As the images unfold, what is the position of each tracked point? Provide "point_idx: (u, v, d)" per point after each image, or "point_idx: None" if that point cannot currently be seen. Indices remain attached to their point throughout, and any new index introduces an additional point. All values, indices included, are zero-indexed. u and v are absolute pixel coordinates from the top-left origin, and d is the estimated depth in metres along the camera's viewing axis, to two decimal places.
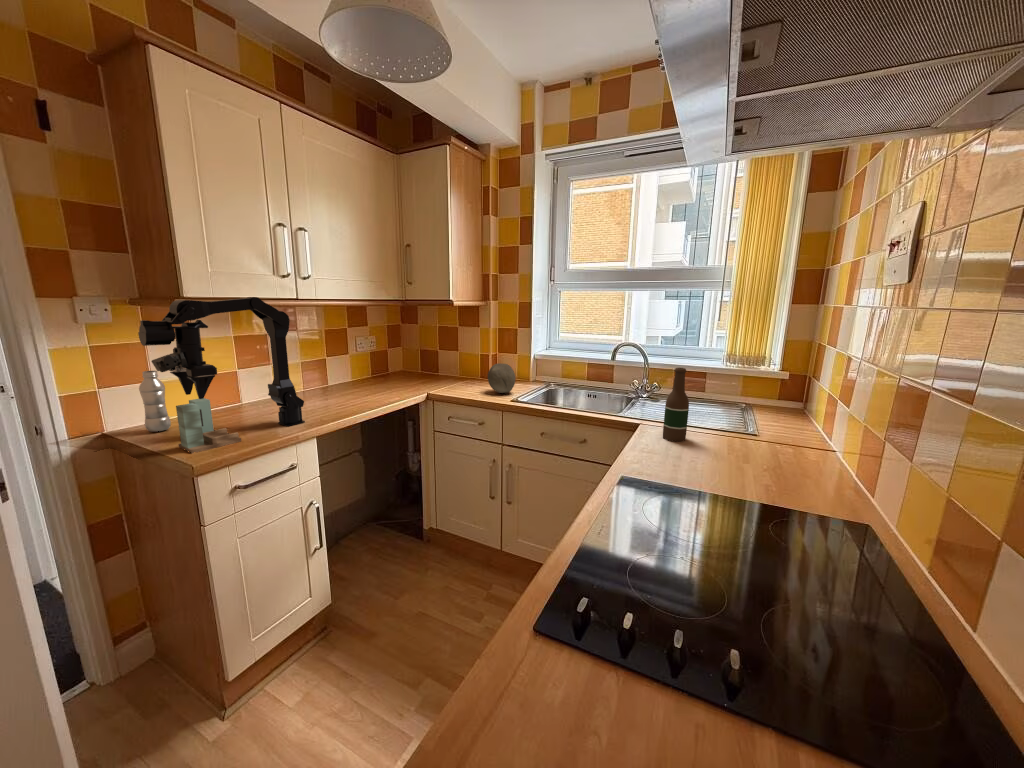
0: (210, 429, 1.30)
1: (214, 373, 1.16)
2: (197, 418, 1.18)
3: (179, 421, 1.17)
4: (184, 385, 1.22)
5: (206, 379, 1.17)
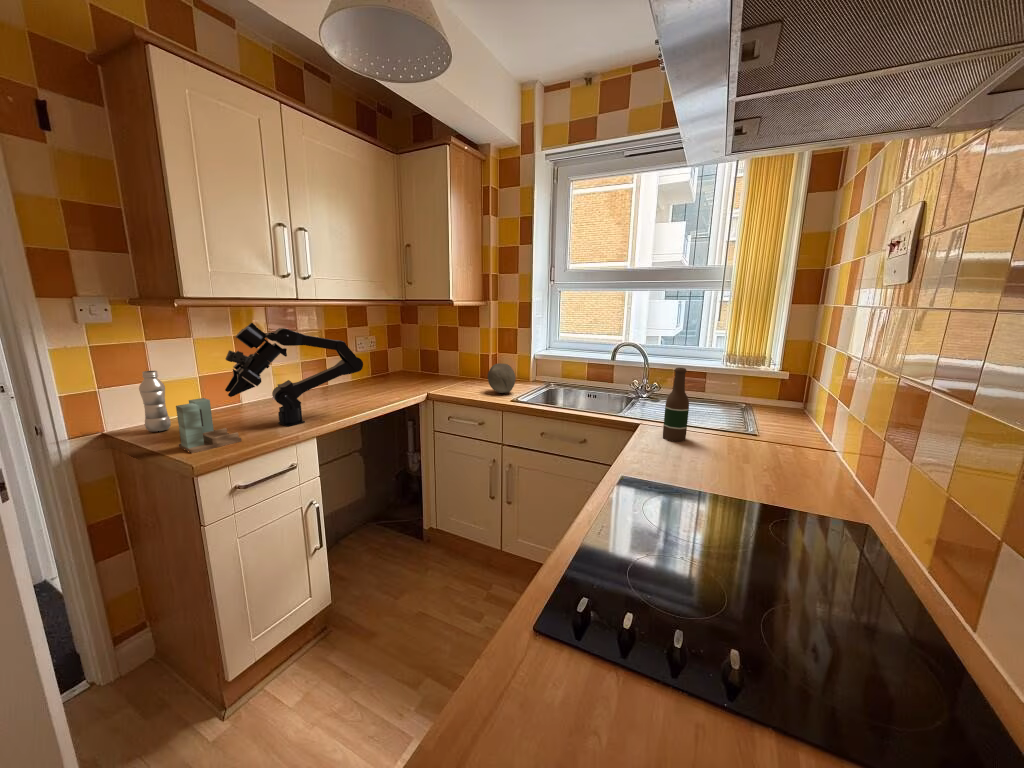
0: (210, 429, 1.30)
1: (255, 384, 1.29)
2: (197, 418, 1.18)
3: (179, 421, 1.17)
4: (230, 383, 1.37)
5: (247, 385, 1.31)
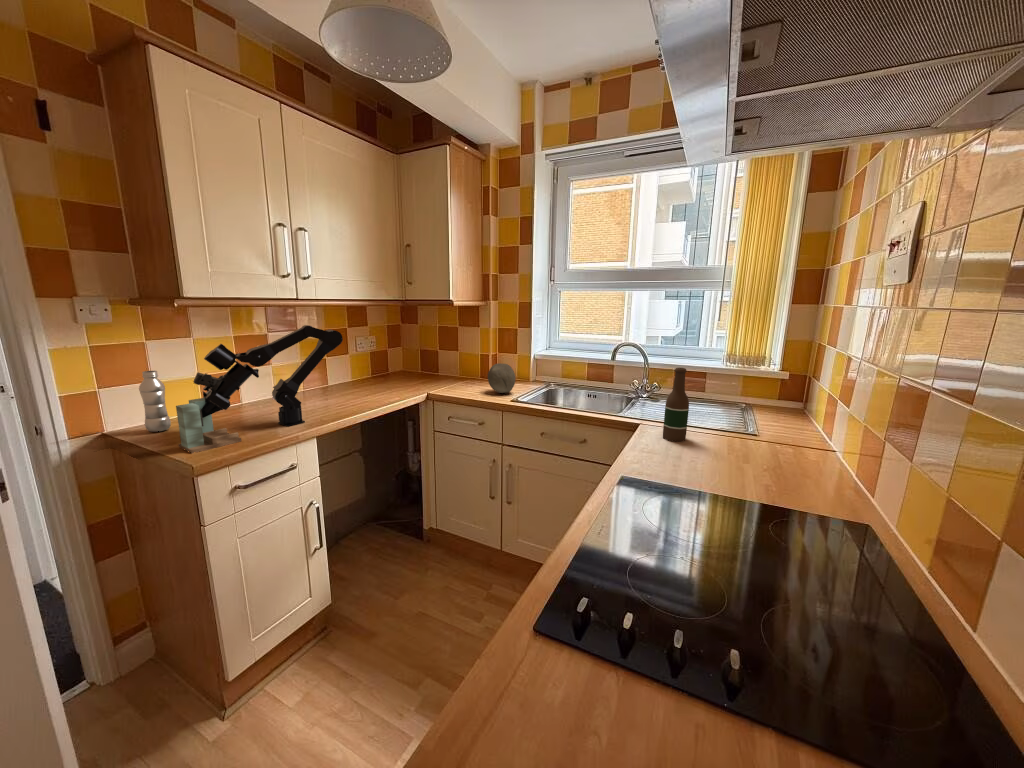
0: (210, 429, 1.30)
1: (224, 407, 1.25)
2: (197, 418, 1.18)
3: (179, 421, 1.17)
4: None
5: (214, 408, 1.28)
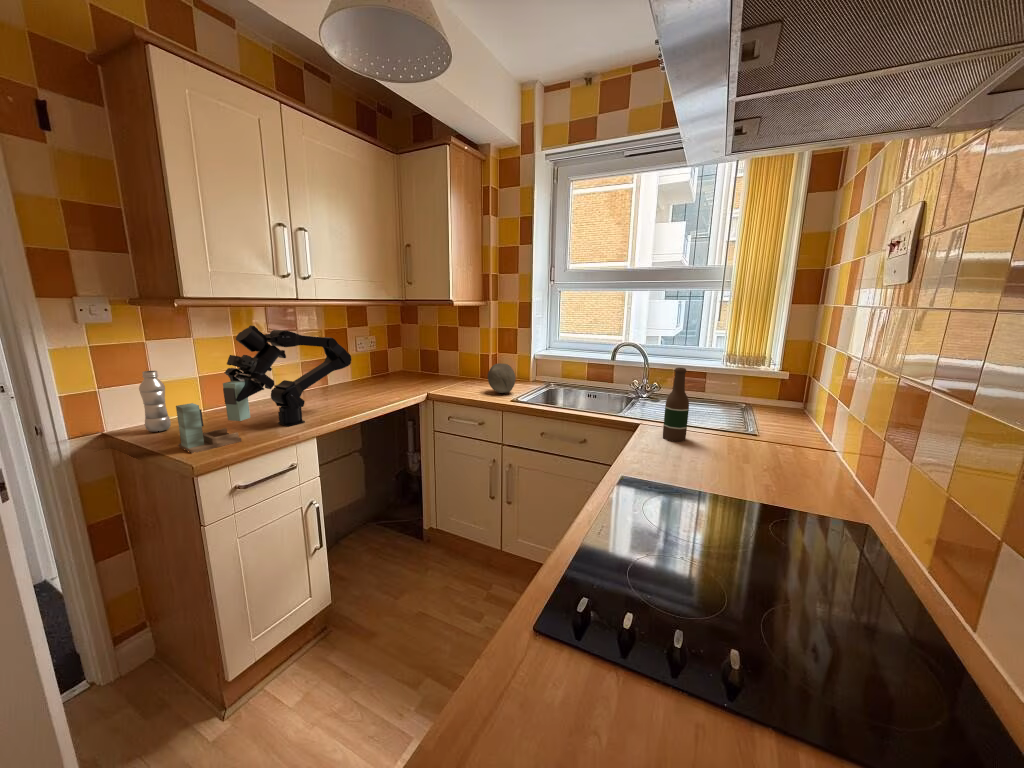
0: (247, 411, 1.31)
1: (270, 387, 1.29)
2: (197, 418, 1.18)
3: (179, 421, 1.17)
4: None
5: (255, 388, 1.29)
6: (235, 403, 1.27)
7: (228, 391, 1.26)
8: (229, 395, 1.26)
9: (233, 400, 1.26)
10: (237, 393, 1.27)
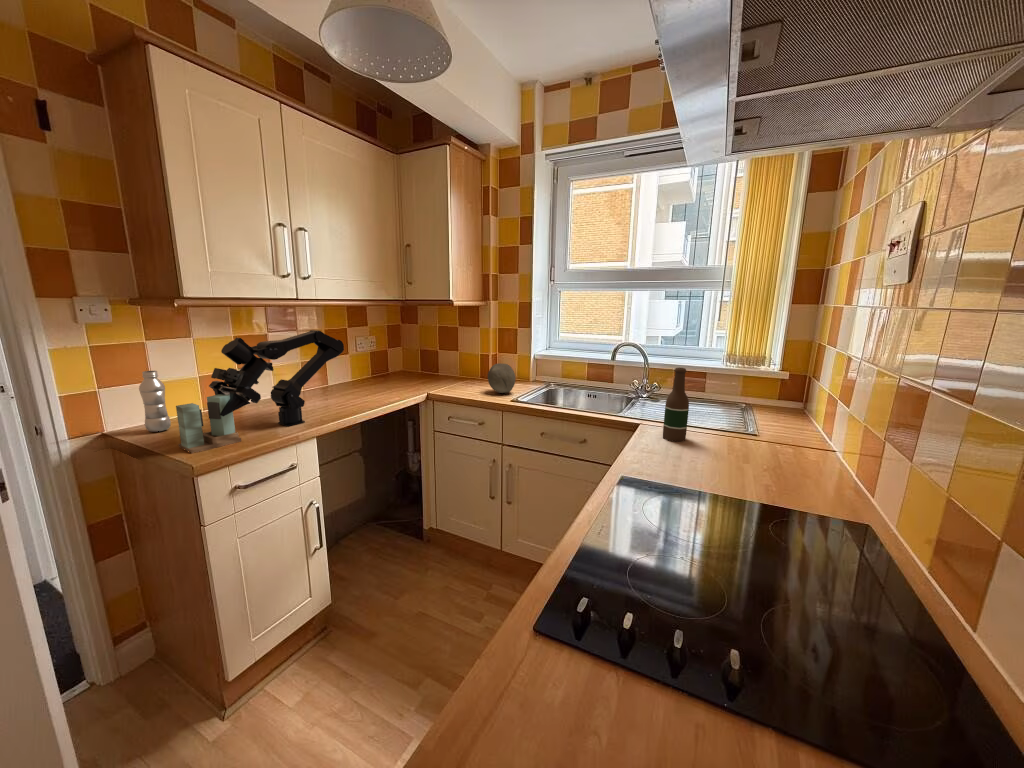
0: (232, 425, 1.27)
1: (256, 401, 1.25)
2: (197, 418, 1.18)
3: (179, 421, 1.17)
4: None
5: (240, 402, 1.26)
6: (219, 418, 1.23)
7: (212, 405, 1.22)
8: (213, 409, 1.22)
9: (217, 414, 1.22)
10: (222, 407, 1.23)
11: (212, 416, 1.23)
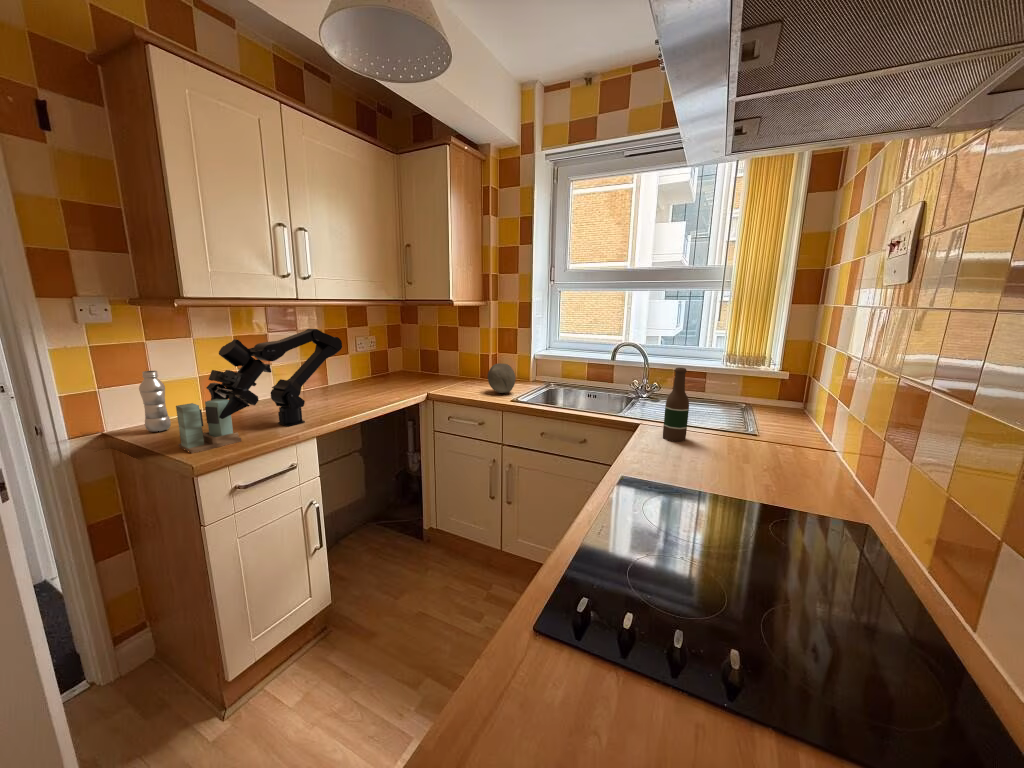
0: (230, 430, 1.26)
1: (254, 403, 1.25)
2: (197, 418, 1.18)
3: (179, 421, 1.17)
4: None
5: (239, 405, 1.25)
6: (217, 422, 1.23)
7: (210, 410, 1.22)
8: (211, 414, 1.22)
9: (215, 419, 1.22)
10: (220, 412, 1.23)
11: (210, 421, 1.23)
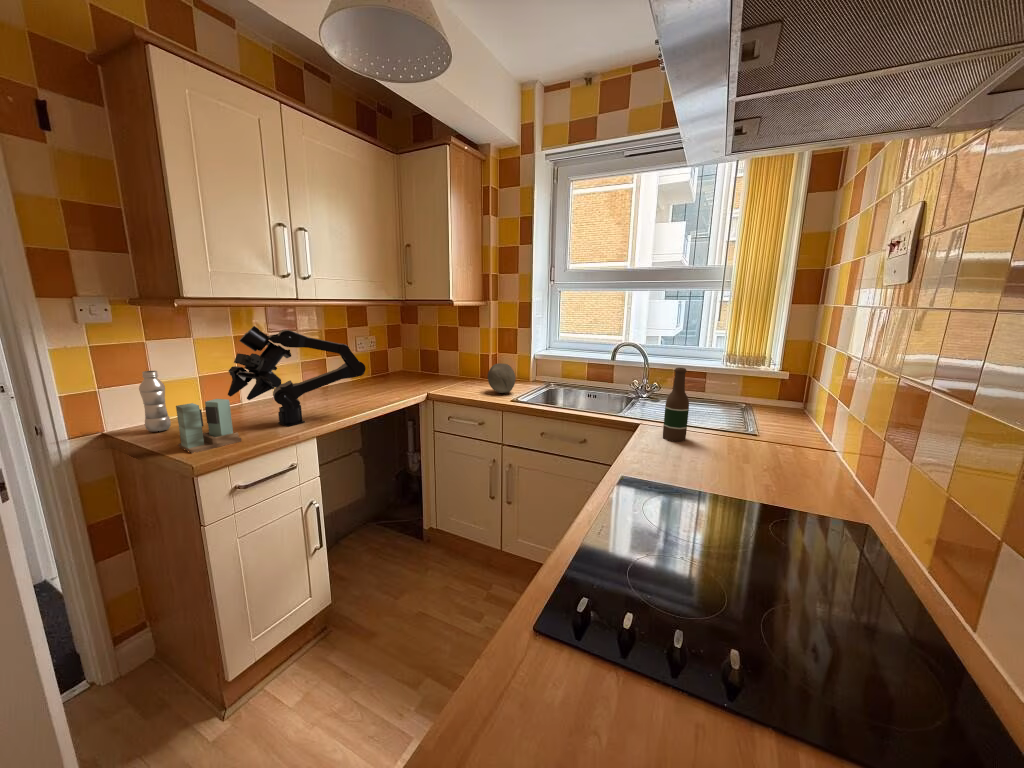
0: (230, 430, 1.26)
1: (277, 385, 1.32)
2: (197, 418, 1.18)
3: (179, 421, 1.17)
4: (233, 387, 1.33)
5: (265, 387, 1.32)
6: (217, 422, 1.23)
7: (210, 410, 1.22)
8: (211, 414, 1.22)
9: (215, 419, 1.22)
10: (220, 412, 1.23)
11: (210, 421, 1.23)
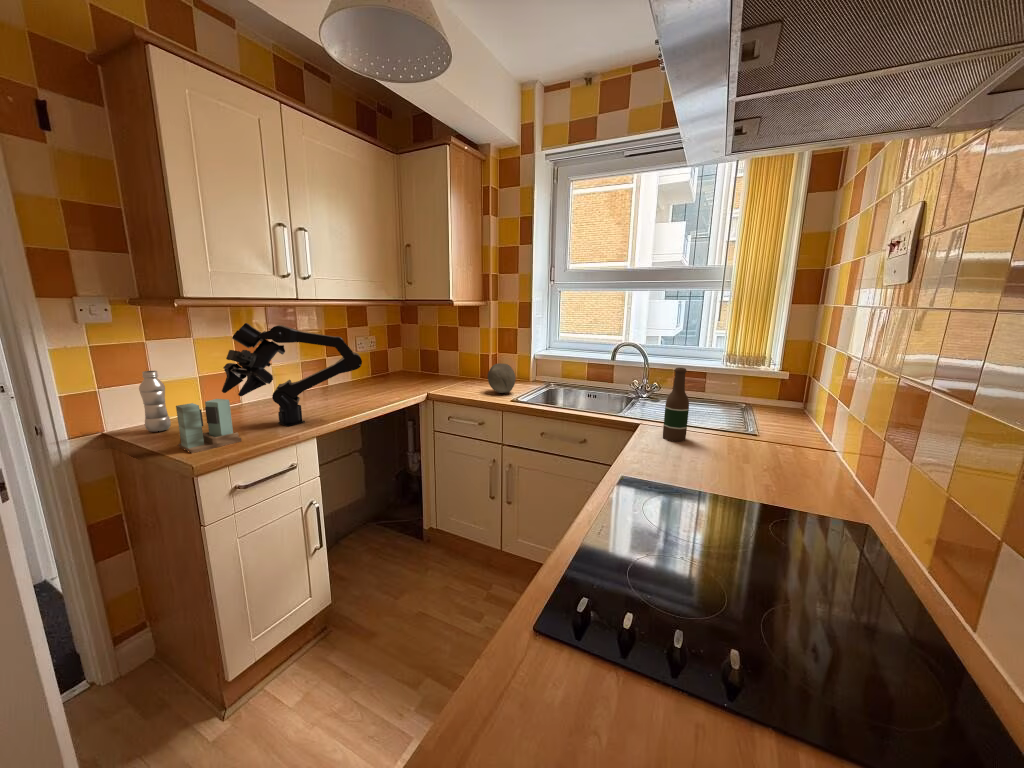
0: (230, 430, 1.26)
1: (269, 381, 1.31)
2: (197, 418, 1.18)
3: (179, 421, 1.17)
4: (227, 383, 1.33)
5: (257, 383, 1.31)
6: (217, 422, 1.23)
7: (210, 410, 1.22)
8: (211, 414, 1.22)
9: (215, 419, 1.22)
10: (220, 412, 1.23)
11: (210, 421, 1.23)
